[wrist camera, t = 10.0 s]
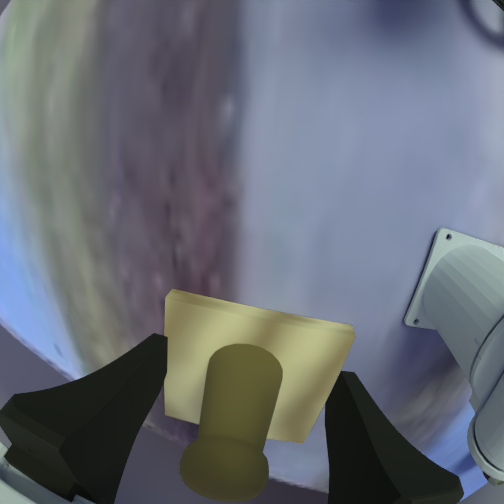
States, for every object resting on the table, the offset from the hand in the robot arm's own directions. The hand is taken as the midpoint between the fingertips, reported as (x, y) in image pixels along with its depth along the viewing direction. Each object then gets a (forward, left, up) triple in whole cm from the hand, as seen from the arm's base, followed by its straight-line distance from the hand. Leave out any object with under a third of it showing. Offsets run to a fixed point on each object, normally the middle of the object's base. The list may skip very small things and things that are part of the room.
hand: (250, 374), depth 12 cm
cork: (0, +8, -9) cm, 12 cm away
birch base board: (0, +10, -10) cm, 14 cm away
